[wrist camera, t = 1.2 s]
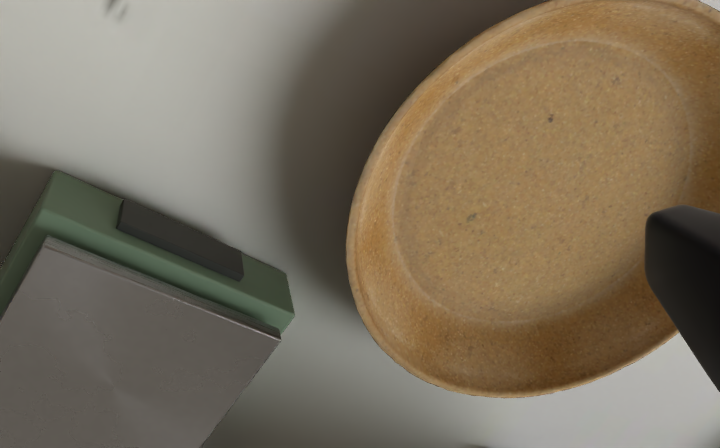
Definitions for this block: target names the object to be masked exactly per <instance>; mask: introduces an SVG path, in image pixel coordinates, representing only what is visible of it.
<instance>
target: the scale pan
mask: <svg viewBox="0 0 720 448" xmlns="http://www.w3.org/2000/svg"><path fill="white" fill-rule="evenodd" d="M280 342H281V335H280V330H279V329H278V328H276V327H274V326H271V325H269V324H266V323H264V322H261V321H259V320H257V319H254V318H252V317H249V316H247V315H244V314H242V313H239V312H237V311H234V310H232V309H230V308H227V307H225V306H222V305H220V304H217V303H215V302H212V301H210V300H207V299H205V298H203V297H200V296H198V295H195V294H193V293H190V292H188V291H185V290H183V289H180V288H178V287H176V286H173V285H171V284H168V283H166V282H163V281H161V280H158V279H156V278H153V277H151V276H149V275H146V274H144V273H141V272H139V271H136V270H134V269H131V268H129V267H126V266H124V265H122V264H119V263H117V262H114V261H112V260H109V259H107V258H104V257H102V256H100V255H97V254H95V253H92V252H90V251H87V250H85V249H82V248H80V247H77V246H75V245H73V244H70V243H68V242H65V241H63V240H60V239H58V238H55V237H53V236H50V235H46V236H45V237H44V239H43V241H42V243H41V244H40V246H39V248H38V250H37V252H36V253H35V255H34V257H33V259H32V260H31V262H30V264H29V266H28V267H27V269H26V271H25V273H24V275H23V276H22V278H21V280H20V282H19V283H18V285H17V287H16V289H15V290H14V292H13V294H12V296H11V297H10V299H9V301H8V303H7V305H6V306H5V308H4V310H3V312H2V313H1V315H0V448H201V446H202V445H203V444H204V442H205V441H206V440H207V438H208V437H209V436H210V434H211V433H212V432H213V430H214V429H215V428H216V426H217V425H218V424H219V422H220V421H221V420H222V418H223V417H224V416H225V414H226V413H227V412H228V410H229V409H230V408H231V406H232V405H233V404H234V402H235V401H236V400H237V399H238V397H239V396H240V395H241V393H242V392H243V391H244V389H245V388H246V387H247V385H248V384H249V383H250V381H251V380H252V379H253V377H254V376H255V375H256V373H257V372H258V371H259V369H260V368H261V367H262V365H263V364H264V363H265V361H266V360H267V359H268V357H269V356H270V355H271V353H272V352H273V351H274V350H275V348H276V347H277V346H278V344H279V343H280Z"/></svg>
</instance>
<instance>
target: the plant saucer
mask: <svg viewBox="0 0 720 448" xmlns="http://www.w3.org/2000/svg"><path fill="white" fill-rule="evenodd" d="M676 205H689V206H693V207H696V208H700V209H704V210H708V211H712V212H716V213H719V214H720V11H718V10H716V9H714V8H712V7H711V6H709V5H707V4H705V3H702V2H700V1H698V0H549V1H546V2H543V3H541V4H538V5H535V6H533V7H531V8H528V9H526V10H523V11H521V12H519V13H517V14H515V15H513V16H511V17H509V18H507V19H505V20H503V21H501V22H499V23H497V24H495V25H494V26H492V27H490V28H488V29H487V30H485V31H483V32H482V33H480V34H479V35H477V36H475V37H474V38H473V39H471V40H470V41H468V42H467V43H466V44H464V45H463V46H462V47H460V48H459V49H458V50H456V51H455V52H454V53H452V54H451V55H450V56H449V57H448V58H446V59H445V60H444V61H443V62H442V63H441V64H440V65H439V66H437V67H436V68H435V69H434V70H433V71H432V72H431V73H430V74H429V75H428V76H427V77H426V78H425V79H424V80H423V81H422V82H421V83H420V84H419V85H418V86H417V87H416V88H415V89H414V90H413V92H412V93H411V94H410V95H409V96H408V97H407V98H406V100H405V101H404V102H403V103H402V105H401V106H400V107H399V109H398V110H397V111H396V112H395V114H394V115H393V116H392V118H391V119H390V121H389V122H388V124H387V125H386V127H385V128H384V130H383V131H382V133H381V135H380V136H379V138H378V140H377V141H376V143H375V145H374V147H373V149H372V151H371V153H370V155H369V157H368V159H367V161H366V163H365V165H364V168H363V171H362V173H361V175H360V178H359V181H358V183H357V186H356V190H355V193H354V196H353V200H352V203H351V209H350V212H349V219H348V225H347V234H346V266H347V272H348V279H349V283H350V287H351V291H352V295H353V298H354V302H355V305H356V308H357V310H358V312H359V314H360V316H361V318H362V320H363V323H364V325H365V326H366V328H367V330H368V331H369V332H370V334H371V336H372V338H373V339H374V341H375V342H376V343H377V344H378V345H379V347H380V348H381V349H382V350H383V351H384V352H385V353H386V354H388V355H389V356H390V357H391V358H392V359H393V360H394V361H395V362H396V363H397V364H399V365H401V366H402V367H403V368H404V369H406V370H407V371H408V372H409V373H411V374H413V375H414V376H416V377H418V378H420V379H422V380H424V381H425V382H428V383H430V384H433V385H436V386H438V387H442V388H444V389H446V390H449V391H453V392H457V393H462V394H468V395H472V396H485V397H495V398H497V397H500V398H520V397H532V396H539V395H545V394H551V393H554V392H557V391H563V390H567V389H570V388H574V387H578V386H581V385H584V384H587V383H591V382H593V381H595V380H598V379H600V378H603V377H606V376H608V375H610V374H612V373H614V372H616V371H618V370H620V369H622V368H623V367H626V366H628V365H630V364H633V363H635V362H636V361H638V360H640V359H642V358H643V357H645V356H647V355H648V354H650V353H651V352H653V351H654V350H656V349H657V348H659V347H660V346H661V345H663V344H665V343H666V342H667V341H668V340H670V339H671V338H673V337H674V336H675V335H676V334H678V333H679V331H678V329H677V328H676V326H675V325H674V323H673V322H672V320H671V319H670V317H669V316H668V314H667V313H666V311H665V310H664V308H663V306H662V305H661V303H660V302H659V300H658V299H657V297H656V296H655V294H654V293H653V291H652V290H651V288H650V286H649V284H648V282H647V279H646V276H645V271H644V255H645V225H646V220H647V218H648V216H649V215H650V214H652V213H653V212H656V211H659V210H663V209H666V208H669V207H672V206H676Z"/></svg>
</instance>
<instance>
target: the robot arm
mask: <svg viewBox="0 0 720 448" xmlns="http://www.w3.org/2000/svg"><path fill="white" fill-rule="evenodd" d="M644 271H645V276H646V279H647V282H648V284H649V286H650V288H651V290H652V291H653V293H654V294H655V296H656V297H657V299H658V300H659V302H660V303H661V305H662V306H663V308H664V310H665V311H666V313H667V314H668V316H669V317H670V319H671V320H672V322H673V323H674V325H675V326H676V328H677V329H678V331H679V332H680V334H681V335H682V337H683V338H684V340H685V341H686V343H687V345H688V346H689V348H690V349H691V351H692V352H693V354H694V355H695V357H696V358H697V360H698V361H699V363H700V364H701V366H702V367H703V369H704V370H705V372H706V373H707V375H708V376H709V378H710V379H711V381H712V382H713V383H714V385H715V386H716V388H717V389H718V390H719V392H720V214H719V213H716V212H712V211H708V210H704V209H700V208H696V207H693V206H689V205H676V206H672V207H669V208H666V209H663V210H659V211H656V212H653V213H652V214H650V215H649V216H648V218H647V220H646V225H645V255H644Z"/></svg>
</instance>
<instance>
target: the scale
mask: <svg viewBox="0 0 720 448" xmlns="http://www.w3.org/2000/svg"><path fill="white" fill-rule="evenodd" d="M46 235H50V236H53V237H55V238H58V239H60V240H63V241H65V242H68V243H70V244H73V245H75V246H77V247H80V248H82V249H85V250H87V251H90V252H92V253H95V254H97V255H100V256H102V257H104V258H107V259H109V260H112V261H114V262H117V263H119V264H122V265H124V266H126V267H129V268H131V269H134V270H136V271H139V272H141V273H144V274H146V275H149V276H151V277H153V278H156V279H158V280H161V281H163V282H166V283H168V284H171V285H173V286H176V287H178V288H180V289H183V290H185V291H188V292H190V293H193V294H195V295H198V296H200V297H203V298H205V299H207V300H210V301H212V302H215V303H217V304H220V305H222V306H225V307H227V308H230V309H232V310H234V311H237V312H239V313H242V314H244V315H247V316H249V317H252V318H254V319H257V320H259V321H261V322H264V323H266V324H269V325H271V326H274V327H276V328H278V329H279V330H280V335H281V334H282V333H283V331H284V330H285V329H286V327H287V326H288V325H289V323H290V322H291V321H292V319H293V318H294V316H295V313H294V308H293V303H292V299H291V294H290V289H289V285H288V280H287V275H286V274H285V273H283V272H281V271H279V270H277V269H275V268H272V267H270V266H268V265H266V264H263V263H261V262H259V261H257V260H255V259H252V258H250V257H248V256H246V255H244V254H242V252H241V251H239V250H237V249H235V248H233V247H230V246H228V245H226V244H224V243H222V242H219V241H217V240H215V239H213V238H211V237H208V236H206V235H204V234H202V233H200V232H197V231H195V230H193V229H191V228H189V227H186V226H184V225H182V224H180V223H178V222H175V221H173V220H171V219H169V218H167V217H164V216H162V215H160V214H158V213H156V212H153V211H151V210H149V209H147V208H145V207H142V206H140V205H138V204H136V203H134V202H131V201H129V200H127V199H124V200H122V199H120V198H118V197H115V196H113V195H111V194H109V193H107V192H104V191H102V190H100V189H98V188H96V187H93V186H91V185H89V184H87V183H85V182H82V181H80V180H78V179H76V178H74V177H71V176H69V175H67V174H65V173H62V172H60V171H58V170H56V171H54V172H53V174H52V176H51V178H50V180H49V181H48V183H47V185H46V187H45V189H44V191H43V192H42V194H41V196H40V198H39V200H38V201H37V203H36V205H35V207H34V209H33V211H32V212H31V214H30V216H29V218H28V220H27V221H26V223H25V225H24V227H23V229H22V231H21V232H20V234H19V236H18V238H17V240H16V241H15V243H14V245H13V247H12V249H11V251H10V252H9V254H8V256H7V258H6V260H5V261H4V263H3V265H2V267H1V269H0V315H1V313H2V312H3V310H4V308H5V306H6V305H7V303H8V301H9V299H10V297H11V296H12V294H13V292H14V290H15V289H16V287H17V285H18V283H19V282H20V280H21V278H22V276H23V275H24V273H25V271H26V269H27V267H28V266H29V264H30V262H31V260H32V259H33V257H34V255H35V253H36V252H37V250H38V248H39V246H40V244H41V243H42V241H43V239H44V237H45V236H46Z"/></svg>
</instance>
